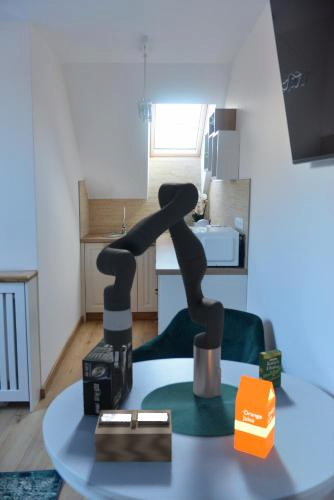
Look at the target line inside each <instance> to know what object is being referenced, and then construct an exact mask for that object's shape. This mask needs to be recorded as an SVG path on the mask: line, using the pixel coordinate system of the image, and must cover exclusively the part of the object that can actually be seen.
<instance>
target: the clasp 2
mask: <svg viewBox="0 0 334 500" xmlns="http://www.w3.org/2000/svg"><path fill="white" fill-rule="evenodd" d="M138 424H167V425H169V424H170V415H169V413H166V414H149V413H139V414H138Z"/></svg>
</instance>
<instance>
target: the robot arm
mask: <svg viewBox="0 0 334 500" xmlns="http://www.w3.org/2000/svg"><path fill="white" fill-rule="evenodd" d="M157 199H158V205H159V208H160V209H159V210H157V211H154V212H153V213H151V214H149V215H147V216H145V217H143V218H142V219H140V220H139V221H138V222H137V223H135V224H134V225H133V226H132V227H131V228H130V229H129V230H128V231H127V232H126V233H125V234H124V235H122V236H121V237H119V238H117V239H115V240H114V241H112V242H110V243H109V244H107V245H106V246H104V247H103V248H102V249H101V250H100V252H99V253H98V255H97V257H96V261H95V266H96V269H97V271H98V272H100V274H103V275H104V276H105V275H106V276H111V277H114V278H115V279H114V283H113V284H108V285H106V286H104V288H103V293H102V294H103V313H102V321H103V322H102V326H103V327H102V328H103V338H104V342H105V343H106V344H107V345H111V346H112V347H111V350H110V356H111V359H112V363H111V365H112V371H113V375H115V387H123V384H124V376H123V373H124V366H125V361H126V346H125V345H127V344H129V343H130V342H131V341H132V342H133V315H132V314H133V313H132V303H131V302H132V300H131V299H132V297H131V292H132V288H133V283H134V280H135V276H136V271H137V259H136V257H140V256H142V255H143V254H144V253H146V251H147V250H148V249H150V247H151V246H152V245H153V244H154V243H155V242H156V241H157V239H158V238H160V237H161V236H162V235H163V234H164V233H165V232H166V231H168V232H169V235H170V238H171V239H170V240H171V242H172V245H173V248H174V252H175V257H176V261H177V264H178V269H179V270H180V271H179V272H180V275H181V278H182V282H183V283H182V284H183V287H184V292H185V297H186V303H187V305H186V306H187V311H188V316H189V318H190V320H191V322H193V323H194V324H196V325H199V326H204V327H205V331H204V332H200V333H197V334H196V335H195V336H194V338H193V371H192V372H193V374H192V375H193V381H192V382H193V386H192V387H193V388H192V392H193V394H194V395H196V397H198V398H199V397H200V398H205V399H209V398H210V399H212V398H216V397H220V396H222V368H221V358H222V357H221V354H222V352H221V351H222V340H223V337H224V325H225V323H224V322H225V307H224V305H223V303H222V302H221V301H220V300H216V299H211V298H208V297H207V298H206V297H205V296H204V294H203V290H202V282H203V280H204V277H205V275H206V274H207V271H208V270H207V269H208V261H207V260H208V259H207V255H206V252H205V247H204V246H203V242H201V240H200V239H199V238H198V236H197V235H196V234H195V233H194V231H192V229H191V228H190V226H189V225H188V224H187V223H186V220H185V217H186V216H187V215H189V214H191V213H192V212H193V210H195V209H196V207H197V206H198V203H199V199H200V195H199V190H198V188H197V186H196V184H195V183H192V182H190V181H169V182H168V181H167V182H164V183H162V184H161V185H160V186H159V189H158V191H157Z"/></svg>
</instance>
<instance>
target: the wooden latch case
mask: <svg viewBox="0 0 334 500" xmlns="http://www.w3.org/2000/svg"><path fill="white" fill-rule="evenodd" d="M102 413H103V414H131V424H130V425H107V424H102V425H99V424H98V422H99V419H100V415H101V414H102ZM139 413H149V414H166V413H169V415H170V424H169V425H167V424H138V414H139ZM100 415H99V416H98V419H97V423H96V427H95V430H94V460H95V461H94V462H95V463H144V462H145V463H151V462H152V463H160V462H161V463H164V462H165V463H166V462H168V463H169V462H170V463H171V462H172V460H173V458H172V457H173V455H172V454H173V451H172V449H173V447H172V446H173V445H172V443H173V441H172V439H173V438H172V437H173V432H172V429H173V427H172V409H118V410H101V411H100Z"/></svg>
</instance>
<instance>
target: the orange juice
mask: <svg viewBox="0 0 334 500" xmlns="http://www.w3.org/2000/svg"><path fill="white" fill-rule="evenodd" d="M275 394H276V393H275V390H274V387H273V385H272V382H269V381H265V380H260V379H259V378H255V377H252V376H248V375H242V374H241V376H240V381H239V384H238V388H237V392H236V397H235V408H234V409H235V414H234V418H235V419H234V441H233V442H234V444H233V445H234V446H233V448H234V449H235V450H237V451H240V452H244V453H246V454H248V455H249V454H250V455H253V456H255V457H258V458H262V459H266V458H267V456H268V454H269V453H270V452H271V450H272V448H273V445H274V440H275V421H276V415H275V414H276V413H275V412H276V395H275Z"/></svg>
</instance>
